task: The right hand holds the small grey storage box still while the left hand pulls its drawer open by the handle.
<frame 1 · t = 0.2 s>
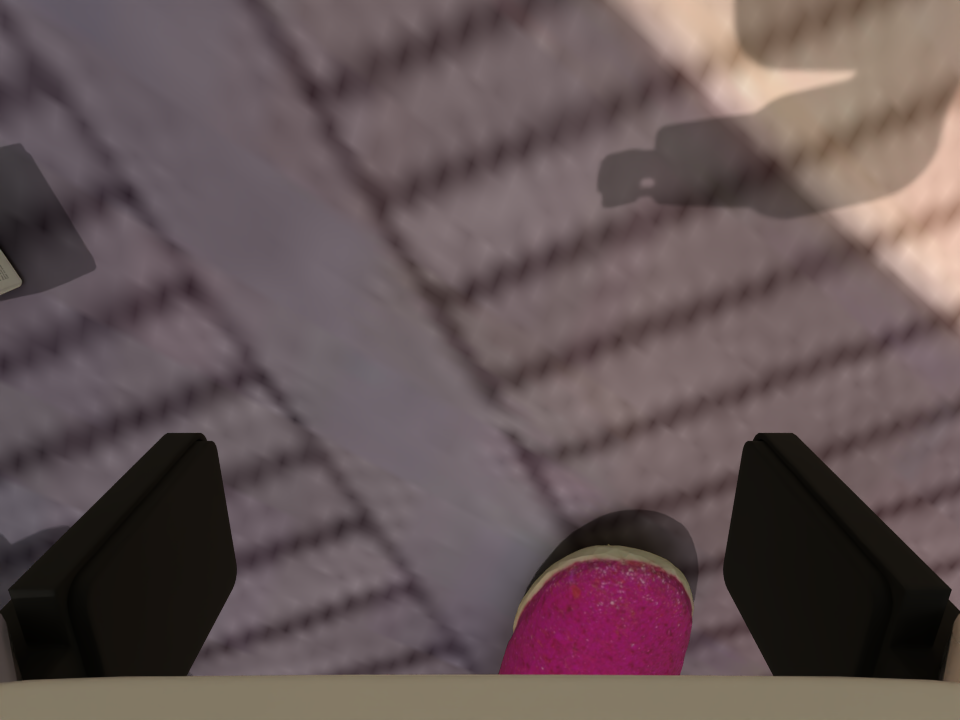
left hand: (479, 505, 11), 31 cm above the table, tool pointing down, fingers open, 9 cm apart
shoe: (561, 670, 53), on the table
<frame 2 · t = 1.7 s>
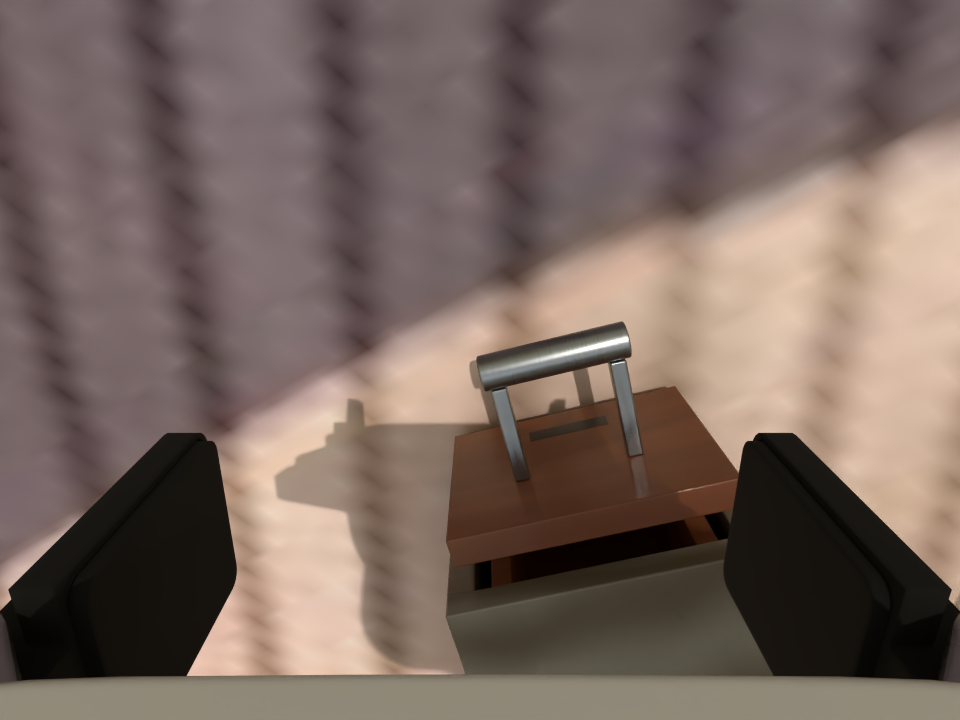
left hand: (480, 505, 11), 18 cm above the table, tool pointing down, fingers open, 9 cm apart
drawer: (608, 595, 28), point 5 cm above the table, slide at 1.1 cm
grey storage box: (609, 611, 34), on the table
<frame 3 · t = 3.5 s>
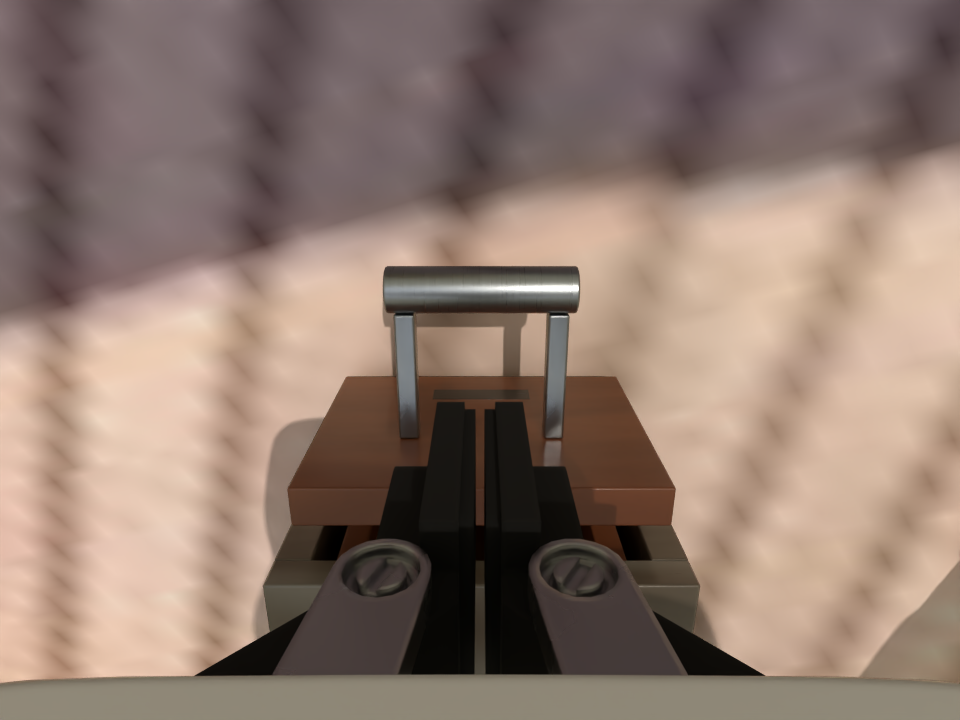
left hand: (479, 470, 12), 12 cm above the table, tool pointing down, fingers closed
drawer: (481, 602, 23), point 5 cm above the table, slide at 1.1 cm
grey storage box: (480, 622, 29), on the table, touching right hand
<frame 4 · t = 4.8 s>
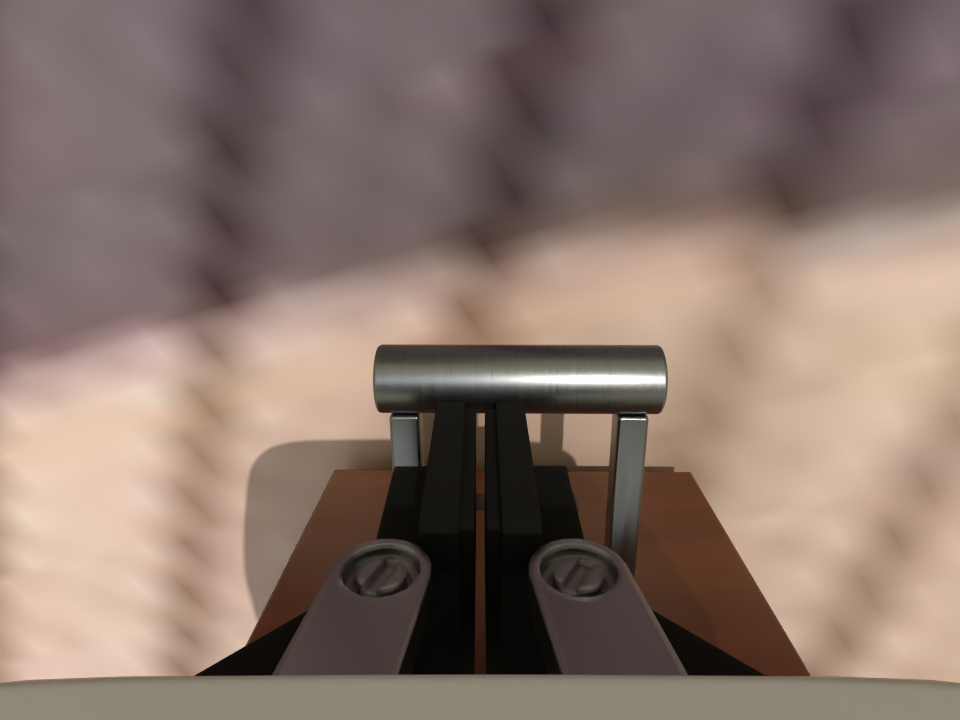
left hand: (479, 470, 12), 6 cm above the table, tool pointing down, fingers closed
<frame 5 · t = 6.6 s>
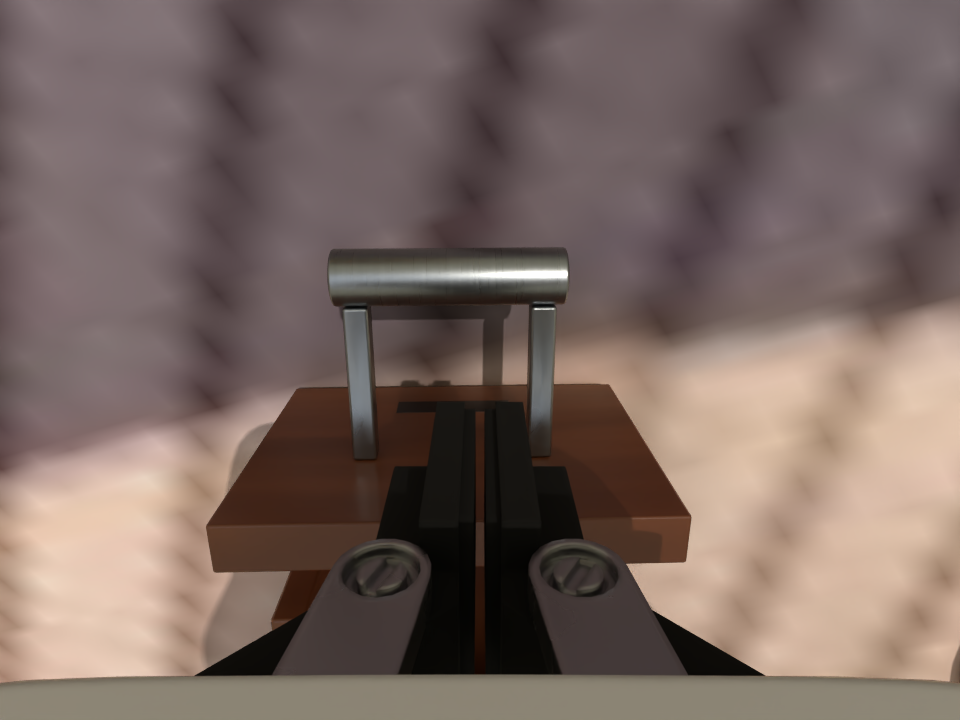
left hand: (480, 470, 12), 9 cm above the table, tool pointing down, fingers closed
drawer: (456, 652, 19), point 5 cm above the table, slide at 7.1 cm
when the right hand's fingers open (5 cm above the table, at t = 7.8 s): grey storage box stays where it is, on the table.
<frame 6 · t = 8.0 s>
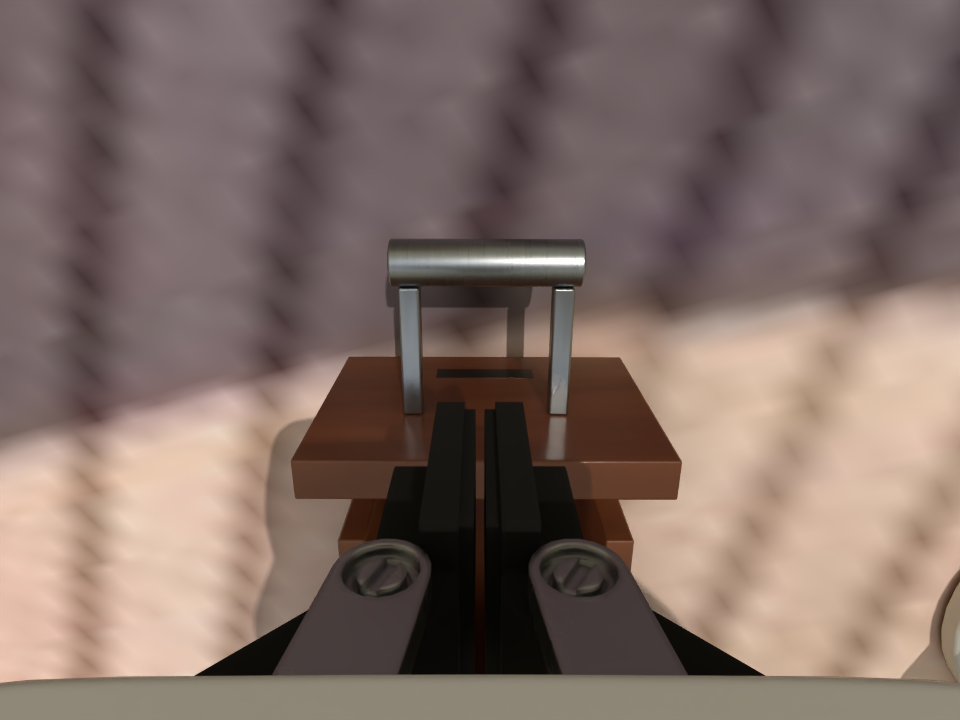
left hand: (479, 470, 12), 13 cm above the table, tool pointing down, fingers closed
drawer: (484, 583, 23), point 5 cm above the table, slide at 7.1 cm
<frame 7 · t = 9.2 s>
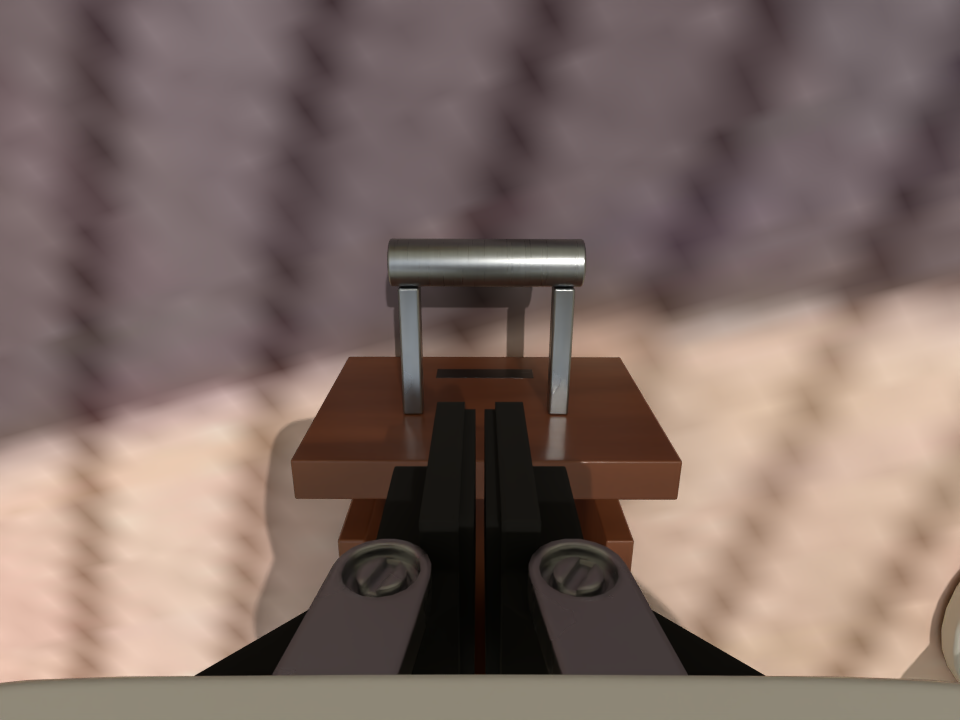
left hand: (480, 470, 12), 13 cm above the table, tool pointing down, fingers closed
drawer: (484, 583, 23), point 5 cm above the table, slide at 7.1 cm
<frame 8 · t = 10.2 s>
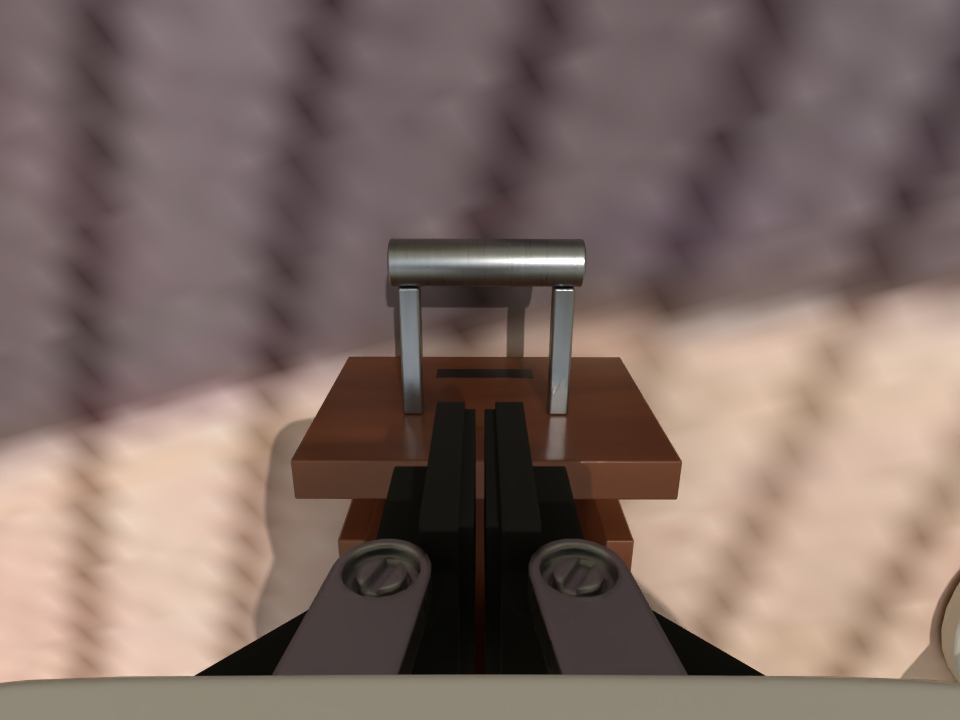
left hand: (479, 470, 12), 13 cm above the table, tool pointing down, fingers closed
drawer: (484, 583, 23), point 5 cm above the table, slide at 7.1 cm
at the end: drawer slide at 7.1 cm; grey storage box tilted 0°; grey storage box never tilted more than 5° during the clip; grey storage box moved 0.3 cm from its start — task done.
